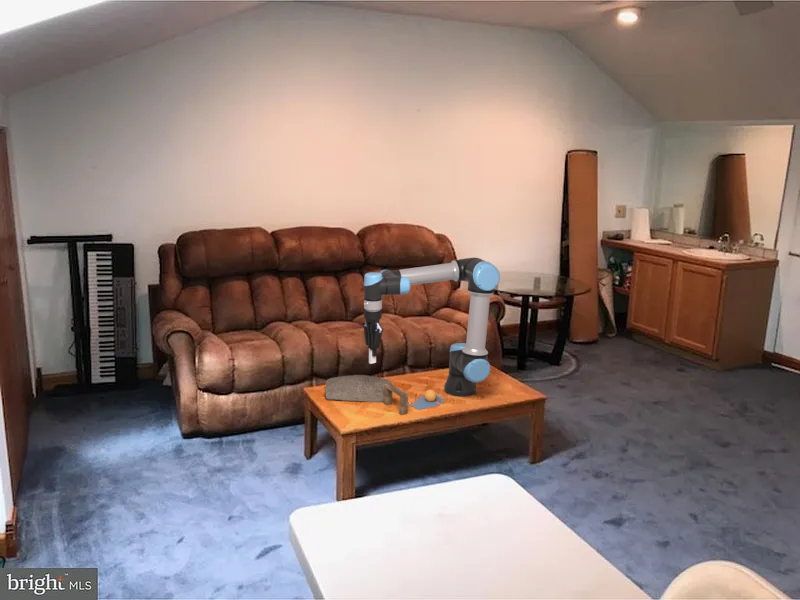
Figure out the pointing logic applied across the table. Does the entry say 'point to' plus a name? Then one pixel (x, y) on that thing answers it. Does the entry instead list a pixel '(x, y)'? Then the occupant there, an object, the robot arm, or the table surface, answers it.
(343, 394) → the stone tablet
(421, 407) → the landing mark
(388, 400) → the bridge
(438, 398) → the wall
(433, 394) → the ball
